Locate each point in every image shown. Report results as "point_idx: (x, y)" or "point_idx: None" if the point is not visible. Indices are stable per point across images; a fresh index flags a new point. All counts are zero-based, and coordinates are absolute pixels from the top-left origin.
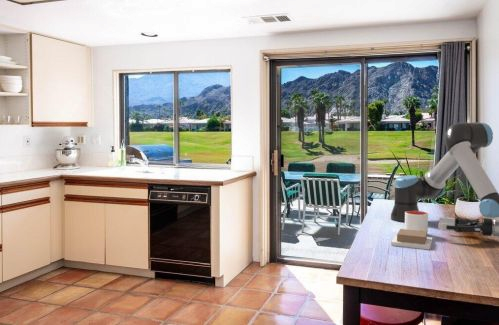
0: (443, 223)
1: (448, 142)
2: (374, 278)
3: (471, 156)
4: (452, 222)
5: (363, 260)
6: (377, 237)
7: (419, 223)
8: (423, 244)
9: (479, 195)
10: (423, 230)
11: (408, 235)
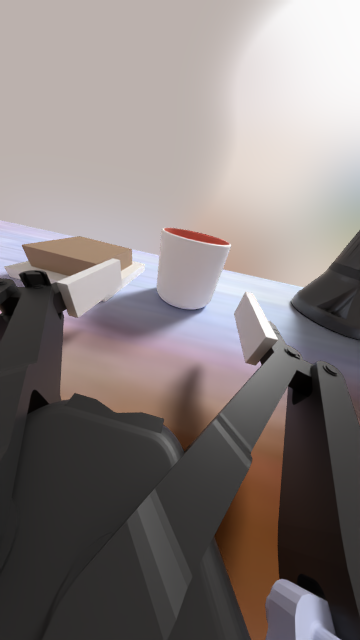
0: (103, 264)
1: None
2: None
3: None
4: (248, 345)
5: (10, 228)
6: (142, 259)
7: (159, 259)
8: (30, 264)
9: None
10: (160, 285)
11: (60, 239)
